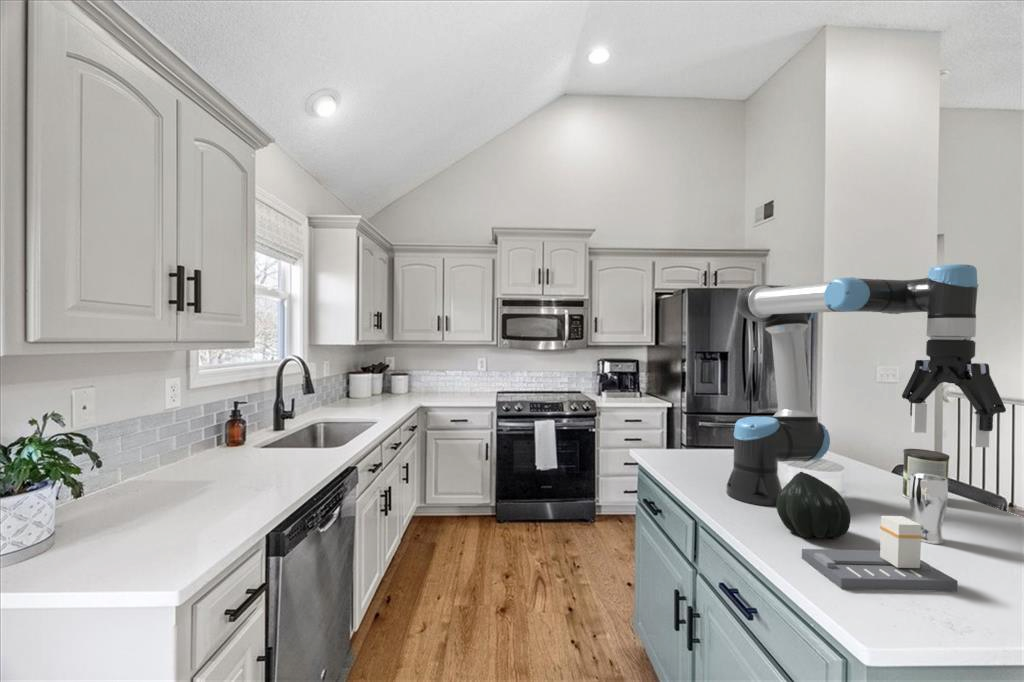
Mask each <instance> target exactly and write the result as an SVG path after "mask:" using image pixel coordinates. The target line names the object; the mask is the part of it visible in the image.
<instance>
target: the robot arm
mask: <svg viewBox="0 0 1024 682" xmlns="http://www.w3.org/2000/svg"><path fill="white" fill-rule="evenodd" d="M978 288H979V284H978V271H977V267H976V266H974V265H971V264H966V263H965V264H962V263H961V264H957V263H956V264H946V265H945V264H944V265H943V264H942V265H936V266H933V267H931V268H930V269H929V270H928V274H927V277H924V278H915V279H901V280H900V279H880V278H879V279H878V278H876V279H873V278H858V277H857V278H856V277H851V276H850V277H839V278H835V279H833V280H829V281H821V282H812V283H803V284H795V285H790V284H789V285H773V284H771V285H770V284H768V285H767V284H754V285H750V286H747V287H745V288H743V290H742V291H741V292H740V293H739V295H738V296H737V299H736V308H737V311H738V313H739V314H740V315H741V316H742V317H743V318H744V319H747V320H748V321H751V322H756V323H764V325H765V326H764V327H765V331H767V332H768V333H769V334H770V335H771V344H772V345H771V346H772V355H773V356H772V358H773V369H774V376H775V378H774V379H775V389H776V391H775V392H776V400H777V411H776V412H775V413H774V415H773V416H772V417H771V416H755V415H754V416H746V417H742V418H740V419H738V420H737V421H736V422H735V423H734V431H733V439H734V440H733V468H732V471H731V473H730V476H729V479H728V480H727V483H726V494H727V496H729V497H730V498H731V499H732V498H733V499H735V500H737V501H741V502H744V503H747V504H753V505H758V506H759V505H761V506H777V497H778V495H779V493H780V491H781V490H782V489H783V488H782V485H781V481H780V479H779V475H778V474H779V473H778V467H779V466H778V463H779V462H804V463H805V462H811V461H818V460H820V459H822V458H824V456H825V455H826V454H827V453H828V451H829V448H830V445H831V437H830V433H829V431H828V429H826V426H825V425H824V424H823V423H821V422H819V419H818V418H819V417H818V415H817V414H816V413H815V412H814V411H812V408H811V407H812V406H811V397H810V388H809V387H810V386H809V379H808V369H807V368H808V367H807V366H808V365H807V357H806V349H805V348H806V347H805V338H804V332H805V331H806V329H807V328H809V322H810V321H811V320H812V319H813V317H814V316H815V315H814V314H815V313H847V312H852V313H853V312H854V313H855V312H857V313H859V312H862V313H863V312H867V313H868V312H869V313H870V312H871V313H881V314H891V315H893V314H894V315H900V314H908V313H911V314H912V313H922V312H924V313H925V312H926V314H927V321H926V336H927V337H928V338H929V339H927V341H926V347H925V348H926V349H925V350H926V351H925V352H926V353H925V354H926V356H927V357H929V359H917V360H915V362H914V363H915V365H914V370H913V372H912V373H911V376H910V378H909V380H908V382H907V384H906V386H905V387H904V390H903V392H902V394H901V397H902V399H903V400H907V401H908V402H909V403H910V409H909V410H910V411H909V414H910V417H911V430H910V431H911V433H914V434H917V433H919V434H920V433H923V434H925V433H927V423H928V422H927V421H928V420H927V417H928V416H927V415H928V403H927V401H926V400H927V398H928V397H929V396H930V395H931V394H932V393H933V392H934V391H935V390H936V388H938V386H939V385H940V384H943V383H947V384H954V385H955V386H956V387H958V388H959V389H960V390H961V392H962V393H963V395H964V396H965V397H966V398H967V400H968V401H969V402H970V404H971V405H972V406H973V408H974V410H975V412H973V413H972V421H971V424H972V425H971V447H972V448H973V447H974V448H990V432H992V431H993V428H994V427H993V425H994V424H993V423H994V416H995V414H1000V413H1006V411H1007V410H1006V409H1007V408H1006V406H1005V404H1004V402H1003V400H1002V398H1001V396H1000V394H999V392H998V390H997V387H996V385H995V383H994V381H993V379H992V377H991V374H990V373H991V372H990V365H989V364H988V363H978V362H977V363H976V362H975V363H972V359H973V358H976V344H977V343H976V341H975V340H972V338H975V337H976V330H977V314H976V311H977V300H978V299H977V298H978V290H979V289H978Z"/></svg>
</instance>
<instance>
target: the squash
mask: <svg viewBox="0 0 1024 682" xmlns="http://www.w3.org/2000/svg"><path fill="white" fill-rule="evenodd" d="M776 511H777V515H778V517H779V519H780V520H781V522H782V523H783V525H784V526H785V527H786V528H787V530H789V531H790V532H792V533H793V534H794V533H795V534H798V535H800V536H801V537H804V538H808V539H809V538H812V537H813V536H815V537H817V538H823V537H826V538H829V539H839V538H841V537H843V536H845V535H846V534H847V532H849V528H850V525H851V520H852V519H851V513H850V509H849V507H848V505H847V503H846V501H845V500H844V498H843V497H842V495H841V494H840V493H839V492H838V491H837V490H836V489H835V488H833V487H832V486H831V485H829V484H827V483H826V482H824V481H822V480H821V479H819V478H817V477H815V476H814V475H811V474H809V473H806V472H803V471H799V472H798V473H796V474H795V475H794V476H793V477H792V478H791V479H790V480H789V482H788V483H786V484H785V486H783V488H782V490H781V491H780V493H779V495H778V497H777V505H776Z"/></svg>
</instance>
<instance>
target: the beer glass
mask: <svg viewBox="0 0 1024 682" xmlns="http://www.w3.org/2000/svg"><path fill="white" fill-rule="evenodd" d="M948 492H949V487H948V488H947V479H946V478H943V477H940V476H937V475H932V474H926V473H911V474H910V482H909V499H908V501H909V507H910V512H911V519H912V521H914V522H916V523H918V524H920V525H921V536H922V539H921V542H922V543H926V544H932V545H942V544H943V545H944V537H943V532H942V531H943V530H942V527H943V521H944V517H945V514H946V511H947V506H948V504H947V502H948V500H949V495H948V494H949V493H948Z"/></svg>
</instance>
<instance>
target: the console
mask: <svg viewBox="0 0 1024 682" xmlns="http://www.w3.org/2000/svg"><path fill="white" fill-rule="evenodd" d="M801 559H802V560H803V561H805V562H806V563H807V564H808V565H810V566H811V567H812V568H813V569H815V570H816V571H818V572H819V573H820V574H822V575H823V576H824V577H825V578H826V579H828V580H829V581H830V582H832V583H833V584H834V585H836V586H837V587H838V588H839V589H841V590H843V589H844V590H849V589H850V590H879V591H880V590H882V591H883V590H884V591H889V590H890V591H892V590H893V591H922V592H923V591H929V592H931V591H933V592H937V591H938V592H958V582H959V581H958V580H957V579H956V578H953V577H951V576H950V575H948V574H946V573H944V572H942V571H940V570H939V569H937V568H935V567H933V566H932V565H930V564H929V563H927V562H925V561H924V560H921V559H920V568H897V567H896V566H894V565H893V564H891V563H889V562H888V561H886V560H884V559H883V558H881V557H880V550H870V549H868V550H866V549H865V550H864V549H833V548H831V549H826V548H824V549H822V548H821V549H820V548H819V549H818V548H801Z"/></svg>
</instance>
